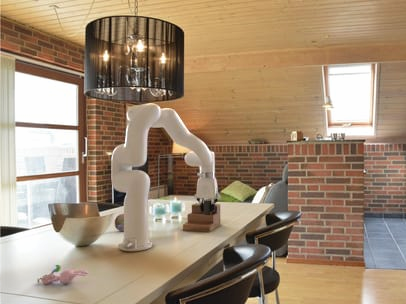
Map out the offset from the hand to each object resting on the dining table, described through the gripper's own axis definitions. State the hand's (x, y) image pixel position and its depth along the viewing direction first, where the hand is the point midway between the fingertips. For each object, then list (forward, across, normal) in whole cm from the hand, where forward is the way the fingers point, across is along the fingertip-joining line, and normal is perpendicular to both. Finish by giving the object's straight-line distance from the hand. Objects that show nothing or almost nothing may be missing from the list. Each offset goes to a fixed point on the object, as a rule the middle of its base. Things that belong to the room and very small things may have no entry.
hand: (207, 210), depth 176 cm
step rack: (+9, -3, 0) cm, 9 cm away
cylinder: (+2, 0, 0) cm, 2 cm away
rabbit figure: (+9, -16, -79) cm, 82 cm away
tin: (+9, -38, -12) cm, 41 cm away
